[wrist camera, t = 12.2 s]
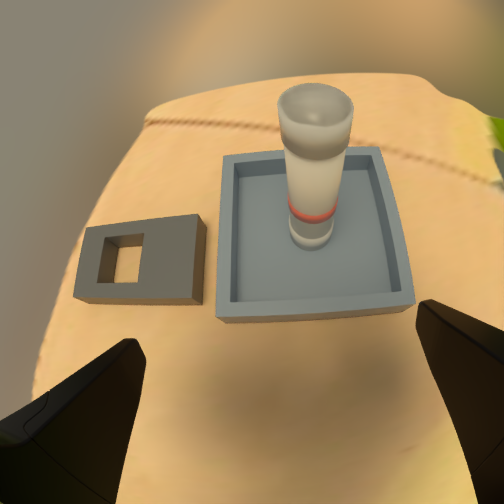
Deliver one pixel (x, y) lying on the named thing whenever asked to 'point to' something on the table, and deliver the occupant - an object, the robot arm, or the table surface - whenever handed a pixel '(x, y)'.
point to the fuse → (314, 158)
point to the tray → (309, 262)
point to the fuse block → (144, 262)
